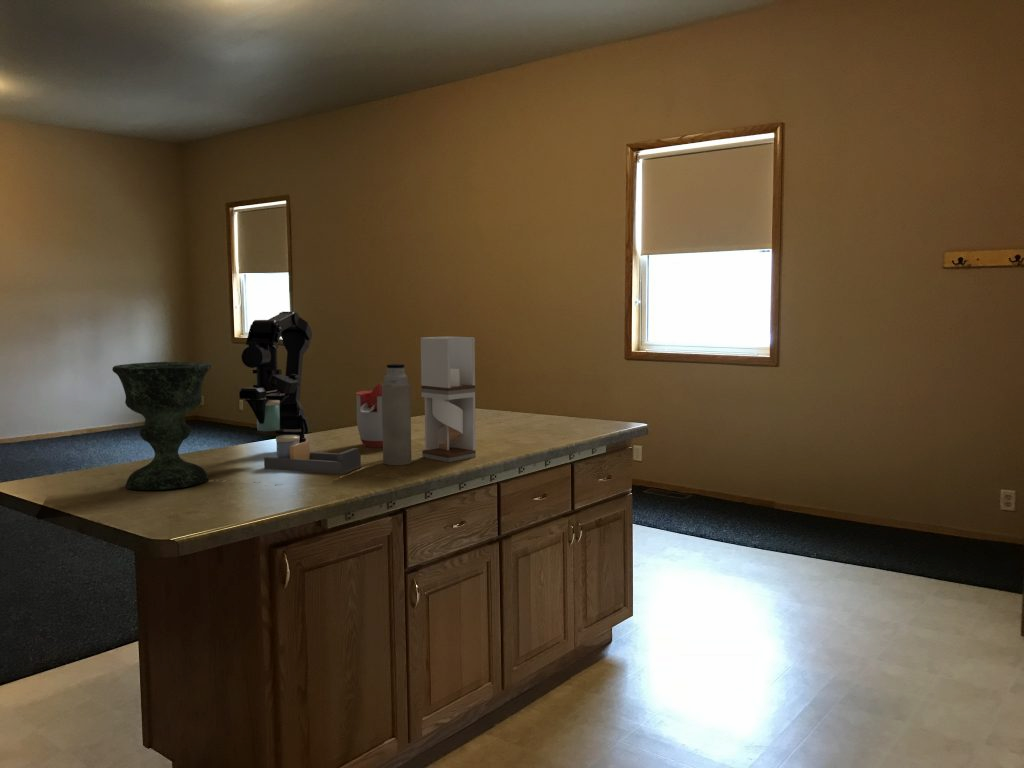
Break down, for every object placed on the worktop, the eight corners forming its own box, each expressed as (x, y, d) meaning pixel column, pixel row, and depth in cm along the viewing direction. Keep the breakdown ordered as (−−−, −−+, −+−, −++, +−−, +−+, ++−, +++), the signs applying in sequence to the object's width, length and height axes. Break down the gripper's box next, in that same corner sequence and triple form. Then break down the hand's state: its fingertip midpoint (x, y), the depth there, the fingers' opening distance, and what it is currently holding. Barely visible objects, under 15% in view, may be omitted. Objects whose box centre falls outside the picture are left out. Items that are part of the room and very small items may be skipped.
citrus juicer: (343, 448, 256) (342, 384, 254) (373, 440, 272) (372, 379, 271) (387, 452, 251) (386, 386, 249) (415, 442, 267) (414, 381, 265)
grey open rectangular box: (264, 471, 222) (263, 450, 221) (287, 464, 232) (286, 443, 232) (341, 476, 215) (340, 454, 214) (360, 468, 226) (360, 447, 225)
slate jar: (272, 467, 224) (271, 438, 223) (285, 462, 230) (284, 434, 229) (292, 468, 222) (291, 438, 221) (304, 464, 228) (303, 435, 227)
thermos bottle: (391, 459, 239) (389, 362, 236) (416, 460, 236) (414, 363, 233) (377, 464, 231) (376, 364, 229) (403, 466, 229) (402, 365, 226)
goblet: (119, 478, 213) (114, 363, 210) (212, 471, 222) (208, 360, 219) (116, 497, 193) (109, 369, 190) (218, 488, 202) (213, 366, 199)
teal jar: (252, 430, 226) (251, 401, 225) (265, 427, 232) (264, 399, 231) (272, 431, 224) (271, 402, 223) (284, 428, 230) (284, 399, 229)
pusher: (290, 468, 221) (289, 446, 220) (306, 462, 229) (305, 441, 228) (294, 468, 221) (293, 446, 220) (309, 463, 228) (309, 441, 228)
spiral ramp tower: (422, 457, 242) (420, 337, 239) (449, 452, 250) (447, 336, 246) (448, 462, 234) (447, 338, 231) (475, 456, 242) (474, 337, 239)
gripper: (273, 368, 215) (275, 427, 217) (310, 364, 233) (311, 419, 234) (236, 367, 218) (238, 426, 220) (275, 363, 236) (276, 418, 237)
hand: (268, 422), depth 228 cm, fingers closed on teal jar, 6 cm apart
